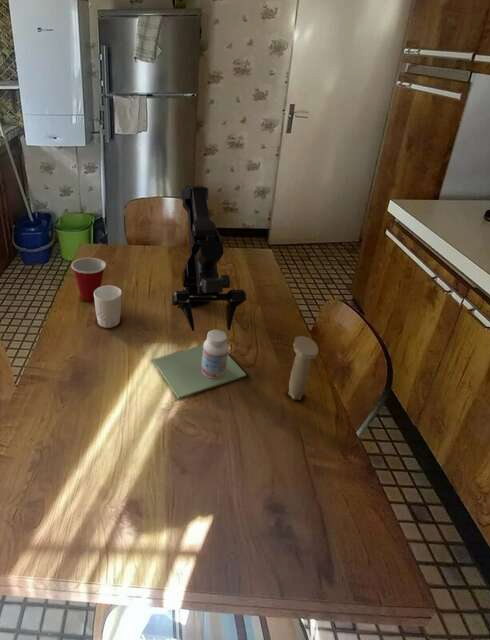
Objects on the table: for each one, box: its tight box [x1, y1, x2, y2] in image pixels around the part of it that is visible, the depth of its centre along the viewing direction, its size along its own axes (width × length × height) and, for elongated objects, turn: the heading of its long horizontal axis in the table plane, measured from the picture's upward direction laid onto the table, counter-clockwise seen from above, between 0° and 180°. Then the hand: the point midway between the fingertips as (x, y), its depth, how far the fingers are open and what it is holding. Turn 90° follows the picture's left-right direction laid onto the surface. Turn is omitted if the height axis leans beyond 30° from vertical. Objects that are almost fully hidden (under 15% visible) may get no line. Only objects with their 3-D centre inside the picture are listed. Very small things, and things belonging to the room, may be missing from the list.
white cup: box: [94, 284, 122, 329], centre depth 126 cm, size 8×8×10 cm
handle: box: [288, 335, 319, 401], centre depth 100 cm, size 5×6×15 cm
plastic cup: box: [70, 257, 107, 302], centre depth 138 cm, size 11×11×12 cm
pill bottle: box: [201, 329, 229, 379], centre depth 107 cm, size 6×6×11 cm
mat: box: [153, 344, 247, 400], centre depth 111 cm, size 19×14×1 cm
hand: (211, 330), depth 111 cm, fingers open, 9 cm apart
